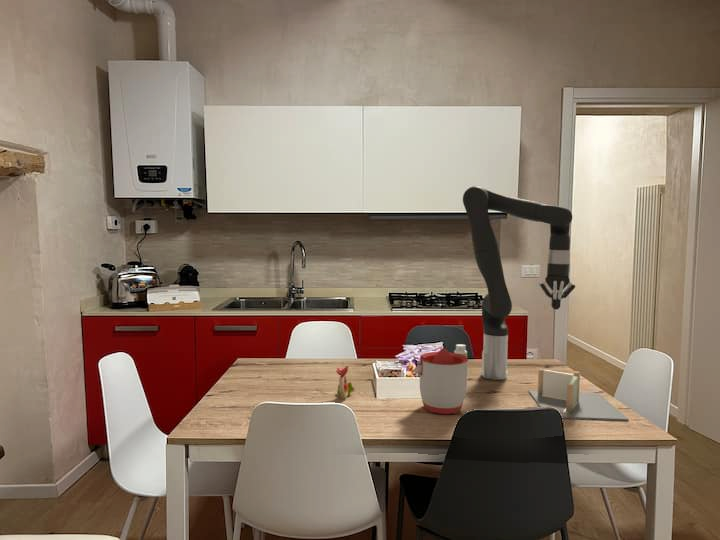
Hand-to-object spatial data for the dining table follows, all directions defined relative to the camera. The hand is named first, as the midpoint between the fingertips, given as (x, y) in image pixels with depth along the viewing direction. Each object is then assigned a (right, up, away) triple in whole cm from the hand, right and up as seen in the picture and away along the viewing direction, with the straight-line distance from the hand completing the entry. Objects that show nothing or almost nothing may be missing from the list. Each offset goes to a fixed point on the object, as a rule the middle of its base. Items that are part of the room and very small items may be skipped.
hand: (555, 309), depth 192 cm
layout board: (-1, -31, -19) cm, 36 cm away
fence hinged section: (-4, -30, -23) cm, 38 cm away
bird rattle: (-78, -30, -13) cm, 84 cm away
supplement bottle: (-30, -27, +25) cm, 48 cm away
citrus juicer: (-46, -31, -23) cm, 60 cm away
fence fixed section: (-5, -29, -14) cm, 33 cm away
